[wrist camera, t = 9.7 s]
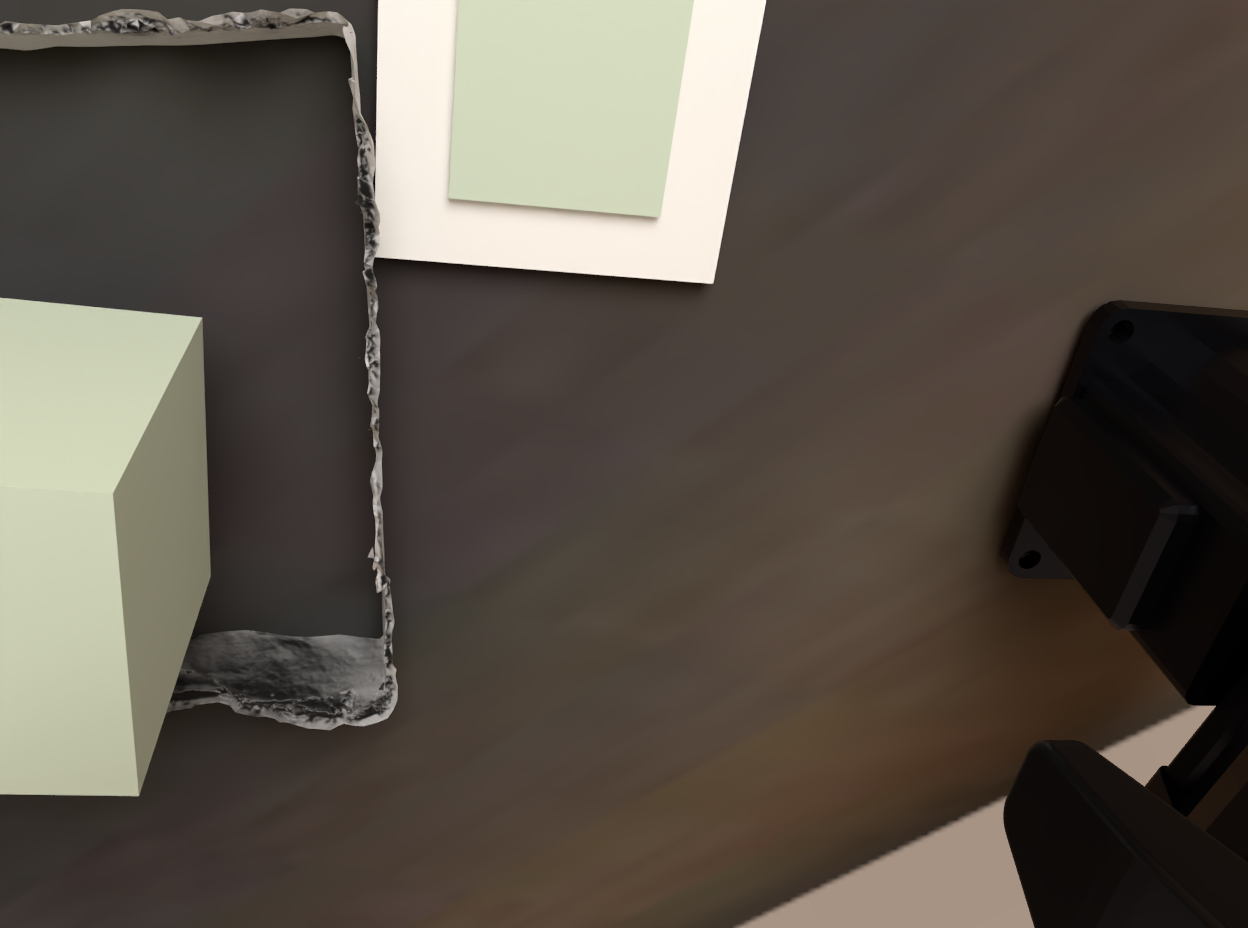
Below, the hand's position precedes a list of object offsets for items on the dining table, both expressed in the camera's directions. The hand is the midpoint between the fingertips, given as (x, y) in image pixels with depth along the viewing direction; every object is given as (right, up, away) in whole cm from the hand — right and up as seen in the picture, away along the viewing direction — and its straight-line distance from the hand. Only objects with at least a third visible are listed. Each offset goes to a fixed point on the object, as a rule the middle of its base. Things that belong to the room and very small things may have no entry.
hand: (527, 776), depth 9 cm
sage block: (-9, +3, +8) cm, 12 cm away
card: (0, +9, +9) cm, 12 cm away
